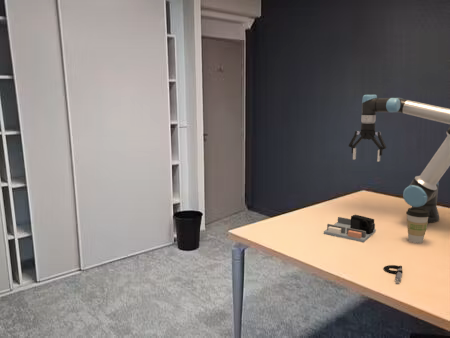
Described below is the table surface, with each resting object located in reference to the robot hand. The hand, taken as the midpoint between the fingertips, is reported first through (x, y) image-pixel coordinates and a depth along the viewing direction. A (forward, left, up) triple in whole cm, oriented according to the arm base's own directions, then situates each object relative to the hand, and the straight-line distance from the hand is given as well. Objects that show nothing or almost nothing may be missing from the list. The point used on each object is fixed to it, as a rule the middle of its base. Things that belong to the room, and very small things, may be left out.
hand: (366, 160), depth 219 cm
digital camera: (-10, +34, -31) cm, 46 cm away
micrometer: (-34, +71, -32) cm, 85 cm away
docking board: (-5, +36, -32) cm, 48 cm away
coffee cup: (-34, +29, -32) cm, 55 cm away
